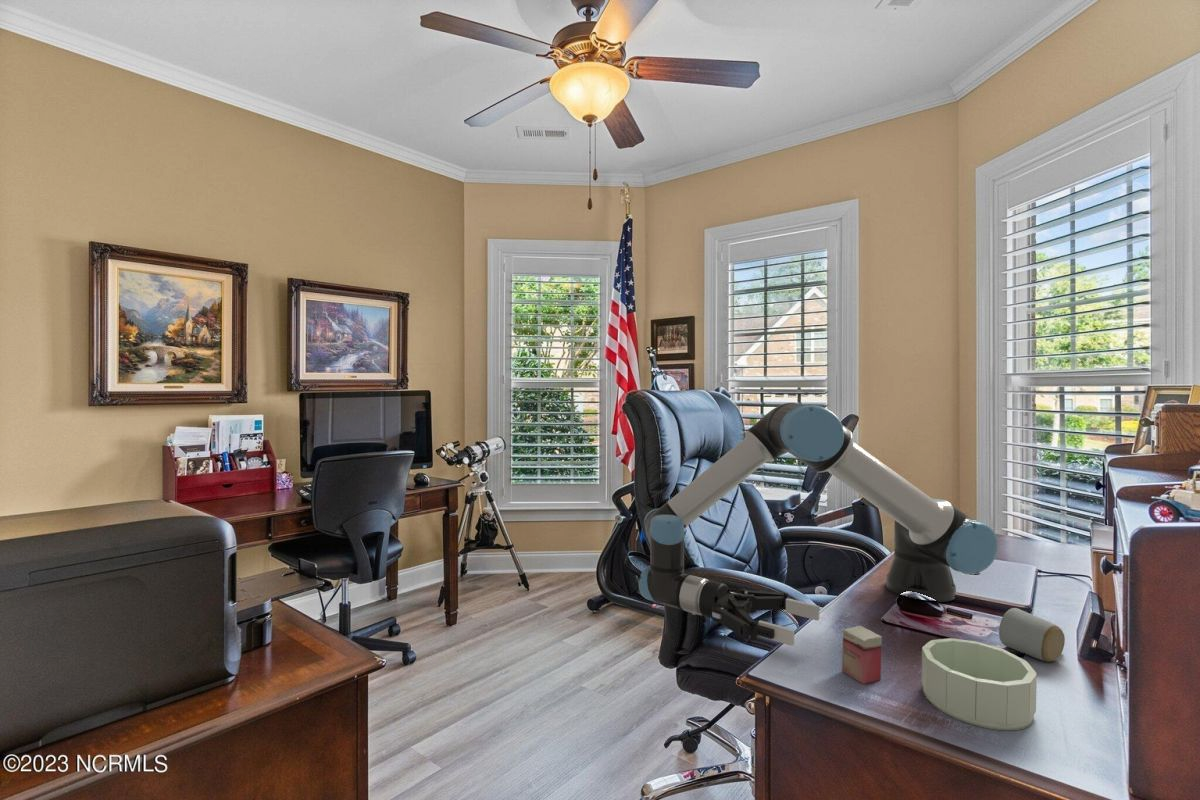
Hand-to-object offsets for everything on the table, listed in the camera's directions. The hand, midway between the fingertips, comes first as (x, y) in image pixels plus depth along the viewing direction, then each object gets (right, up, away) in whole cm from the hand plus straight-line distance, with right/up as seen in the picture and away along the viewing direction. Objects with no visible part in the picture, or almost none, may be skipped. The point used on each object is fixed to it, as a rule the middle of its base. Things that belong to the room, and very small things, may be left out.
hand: (807, 625), depth 107 cm
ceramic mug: (+45, -7, +3) cm, 45 cm away
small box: (+8, -7, -6) cm, 12 cm away
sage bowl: (+22, -7, -14) cm, 27 cm away
